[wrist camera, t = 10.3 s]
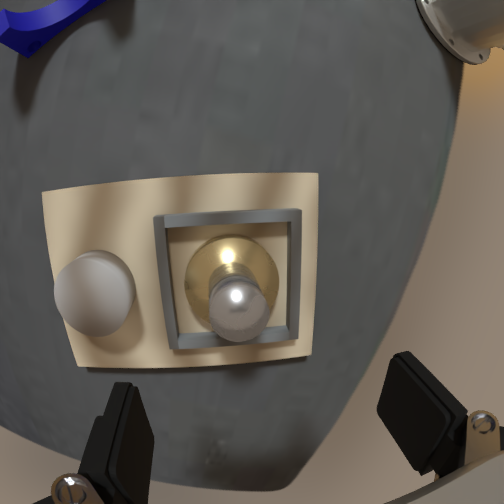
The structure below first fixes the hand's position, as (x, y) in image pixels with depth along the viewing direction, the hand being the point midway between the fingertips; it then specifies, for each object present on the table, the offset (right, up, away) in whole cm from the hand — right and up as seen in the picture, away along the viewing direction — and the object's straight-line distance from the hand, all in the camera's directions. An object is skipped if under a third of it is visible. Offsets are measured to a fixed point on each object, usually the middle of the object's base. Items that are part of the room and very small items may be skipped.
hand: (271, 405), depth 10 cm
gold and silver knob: (-2, +3, +14) cm, 14 cm away
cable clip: (-17, +28, +7) cm, 34 cm away
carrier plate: (-7, +3, +15) cm, 16 cm away
